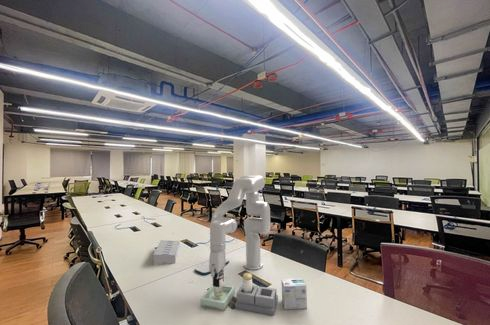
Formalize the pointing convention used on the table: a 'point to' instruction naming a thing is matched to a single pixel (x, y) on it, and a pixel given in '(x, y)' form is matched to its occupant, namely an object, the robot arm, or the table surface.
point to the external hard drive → (206, 268)
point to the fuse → (247, 283)
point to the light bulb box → (294, 293)
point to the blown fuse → (219, 290)
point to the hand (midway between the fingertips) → (218, 283)
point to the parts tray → (218, 298)
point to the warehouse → (166, 252)
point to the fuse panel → (257, 300)
